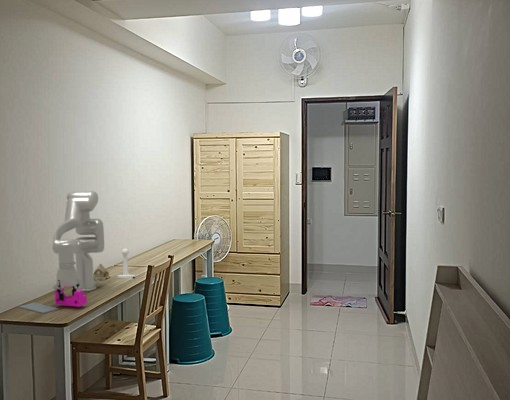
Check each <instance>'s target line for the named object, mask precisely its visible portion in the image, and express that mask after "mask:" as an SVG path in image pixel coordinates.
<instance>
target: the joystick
mask: <svg viewBox="0 0 510 400" xmlns="http://www.w3.org/2000/svg"><path fill="white" fill-rule="evenodd" d="M121 254H122V256H123V258H122V261H123V263H122V265H123V266H122V267H123V268H122V274H117V275H116V276H117V278H132V277H135V278H136V274H131V273H130V271H129V263H128V261H129V260H128V254H129V249H128V248H126V247H124V248H123V249H121Z"/></svg>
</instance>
